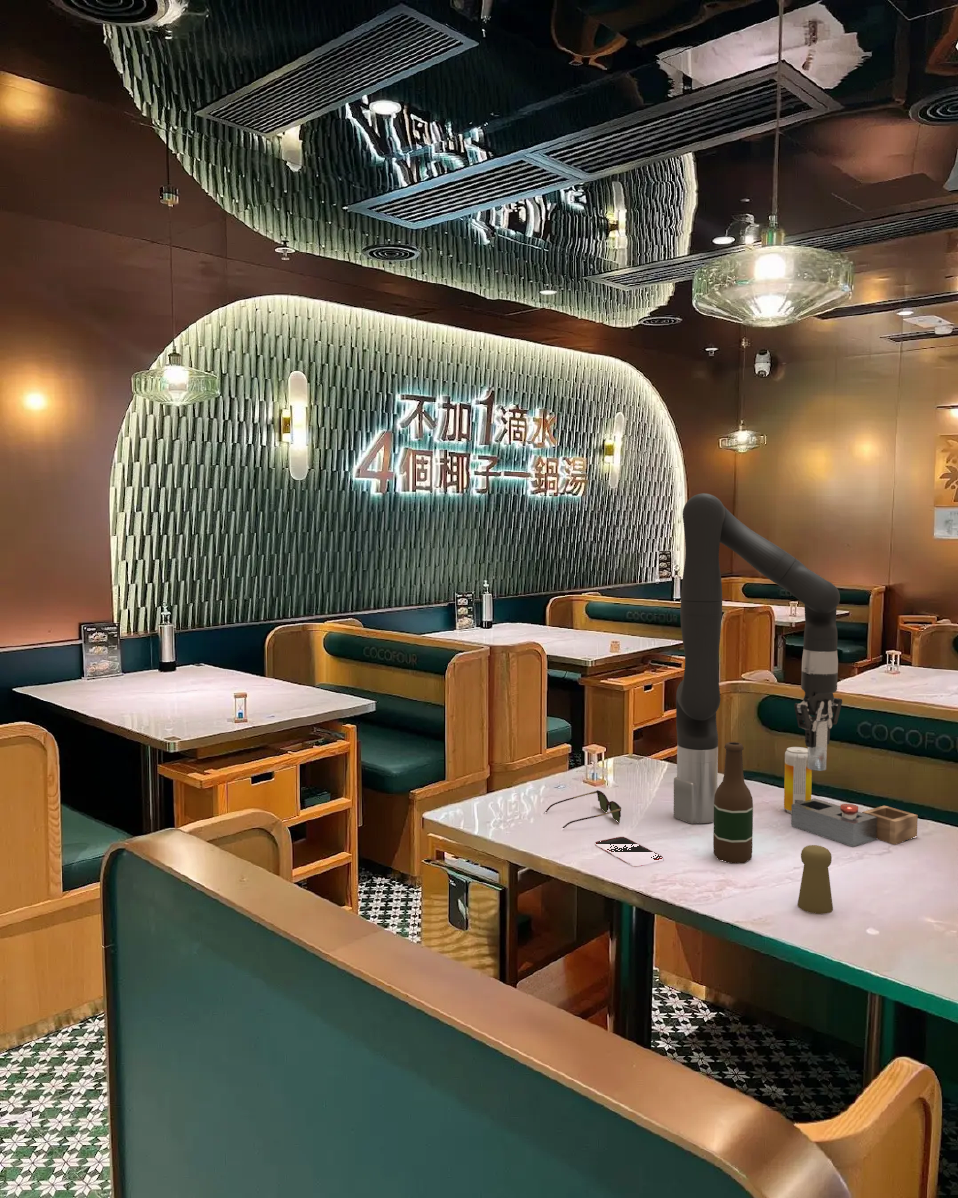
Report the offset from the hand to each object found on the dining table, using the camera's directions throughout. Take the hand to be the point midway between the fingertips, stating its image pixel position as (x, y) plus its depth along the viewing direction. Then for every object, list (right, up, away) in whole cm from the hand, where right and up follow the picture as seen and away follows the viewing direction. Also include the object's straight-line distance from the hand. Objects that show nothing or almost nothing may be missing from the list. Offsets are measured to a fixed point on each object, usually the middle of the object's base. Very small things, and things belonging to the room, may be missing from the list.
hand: (817, 745), depth 205 cm
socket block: (+3, -19, -2) cm, 19 cm away
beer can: (0, -18, +13) cm, 22 cm away
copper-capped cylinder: (+5, -18, -6) cm, 20 cm away
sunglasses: (-52, -19, +9) cm, 56 cm away
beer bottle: (-23, -21, -16) cm, 35 cm away
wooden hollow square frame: (+14, -19, -4) cm, 24 cm away
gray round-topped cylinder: (0, -5, 0) cm, 5 cm away
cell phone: (-44, -21, -12) cm, 51 cm away
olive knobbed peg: (-15, -23, -40) cm, 49 cm away
